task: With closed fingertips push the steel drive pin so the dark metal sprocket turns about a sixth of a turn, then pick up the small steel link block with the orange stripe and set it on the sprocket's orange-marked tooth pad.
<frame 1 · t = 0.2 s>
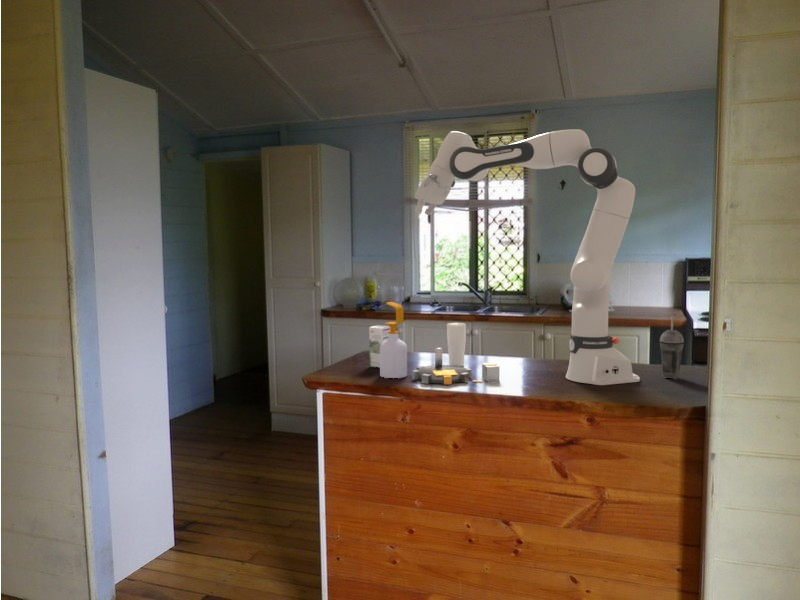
hand: (422, 213, 212), 54 cm above the countertop, tool tilted 30°, fingers open, 8 cm apart
drinking glass: (456, 366, 220), on the countertop
beverage cup: (670, 378, 197), on the countertop
marked link: (490, 380, 197), on the countertop
sprocket: (442, 364, 199), point 5 cm above the countertop, hinge at 0.0°
soap bottle: (393, 376, 204), on the countertop
timing mark: (477, 381, 195), on the countertop
syrup box: (380, 367, 220), on the countertop
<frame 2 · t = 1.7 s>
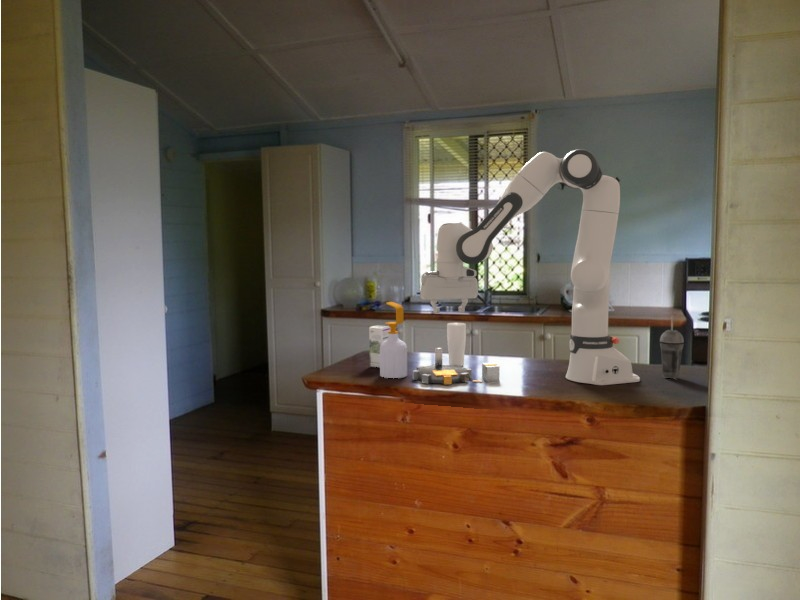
hand: (449, 312, 205), 21 cm above the countertop, tool pointing down, fingers open, 8 cm apart
nothing on the countertop moved.
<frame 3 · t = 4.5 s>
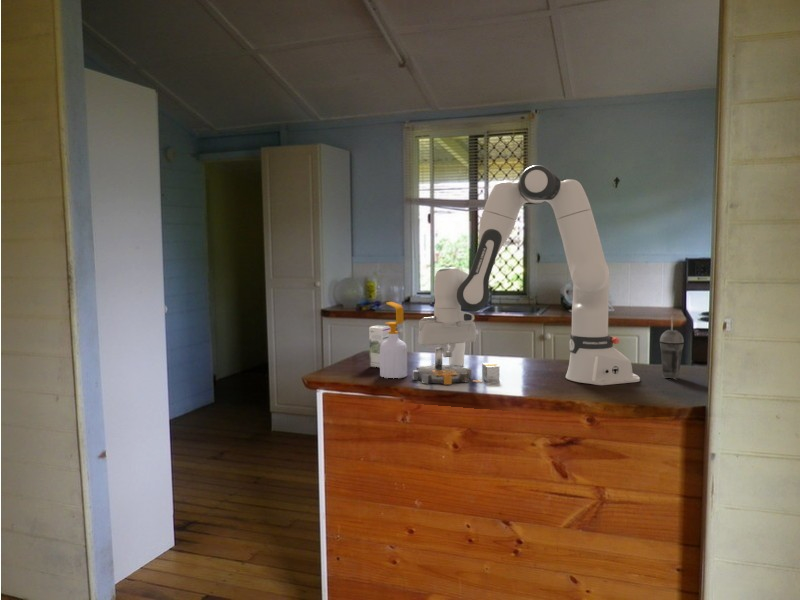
hand: (447, 356, 206), 6 cm above the countertop, tool pointing down, fingers closed
sprocket: (442, 364, 199), point 5 cm above the countertop, hinge at 0.0°, touching gripper
everything else where it was.
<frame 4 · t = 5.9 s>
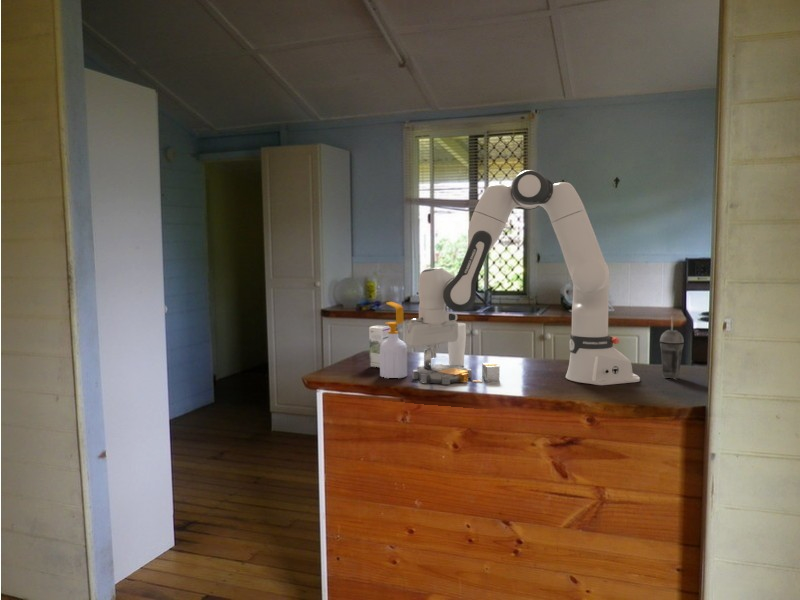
hand: (432, 357, 205), 6 cm above the countertop, tool pointing down, fingers closed
sprocket: (442, 364, 199), point 5 cm above the countertop, hinge at 41.5°, touching gripper
everything else where it was.
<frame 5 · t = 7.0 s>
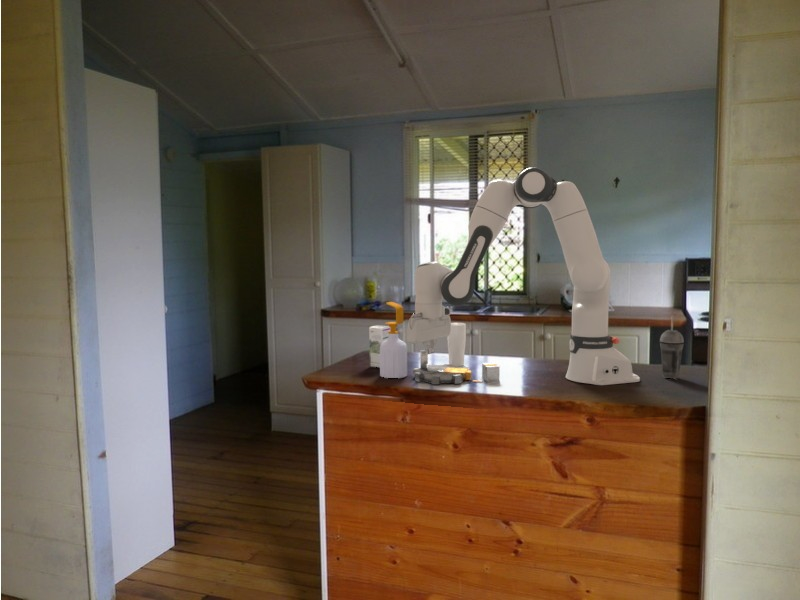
hand: (429, 353, 202), 8 cm above the countertop, tool pointing down, fingers closed
sprocket: (442, 364, 199), point 5 cm above the countertop, hinge at 66.4°
everything else where it was.
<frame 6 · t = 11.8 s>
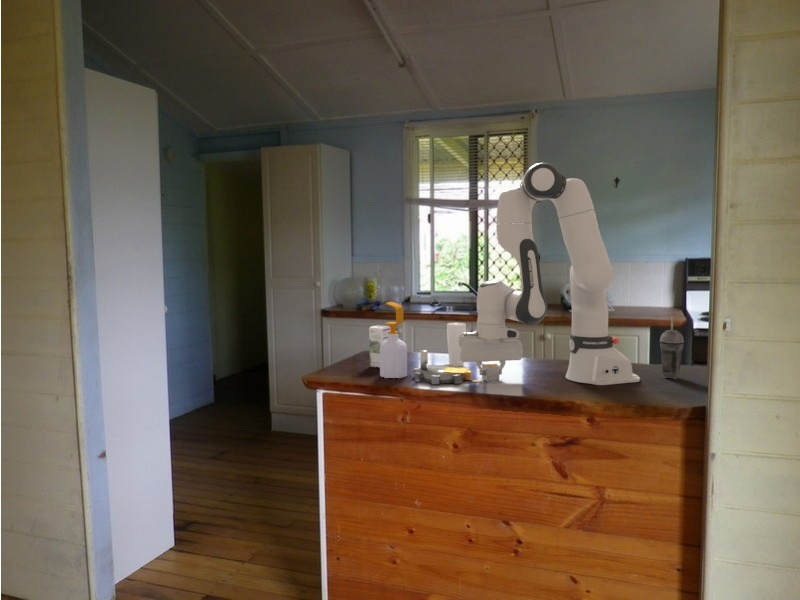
hand: (490, 374, 197), 2 cm above the countertop, tool pointing down, fingers closed on marked link, 4 cm apart
marked link: (490, 379, 197), on the countertop, touching gripper
everything else where it was.
when the fingers open (6 cm above the countertop, at t = 16.2 s): marked link drops 2 cm, resting on sprocket.
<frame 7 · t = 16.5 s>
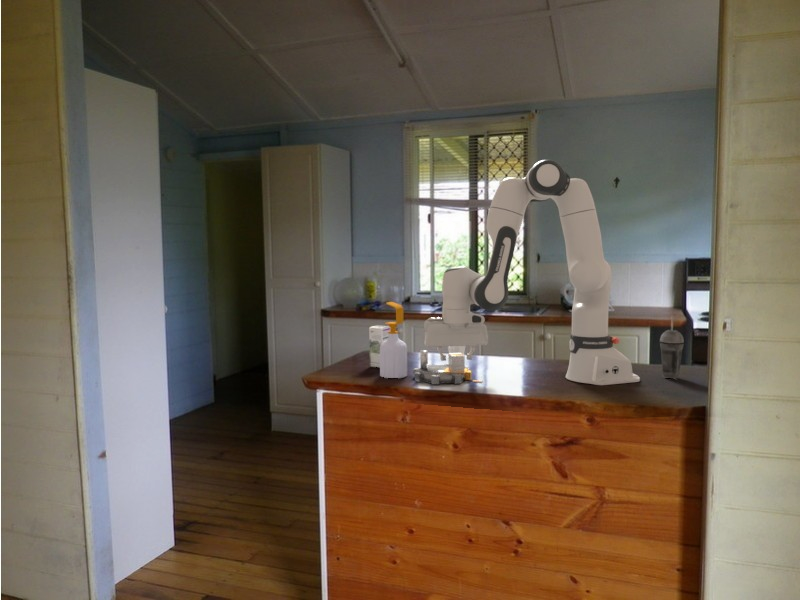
hand: (456, 359, 197), 6 cm above the countertop, tool pointing down, fingers open, 7 cm apart
marked link: (456, 369, 198), point 3 cm above the countertop, touching sprocket
sprocket: (442, 364, 199), point 5 cm above the countertop, hinge at 66.4°, touching marked link
everything else where it was.
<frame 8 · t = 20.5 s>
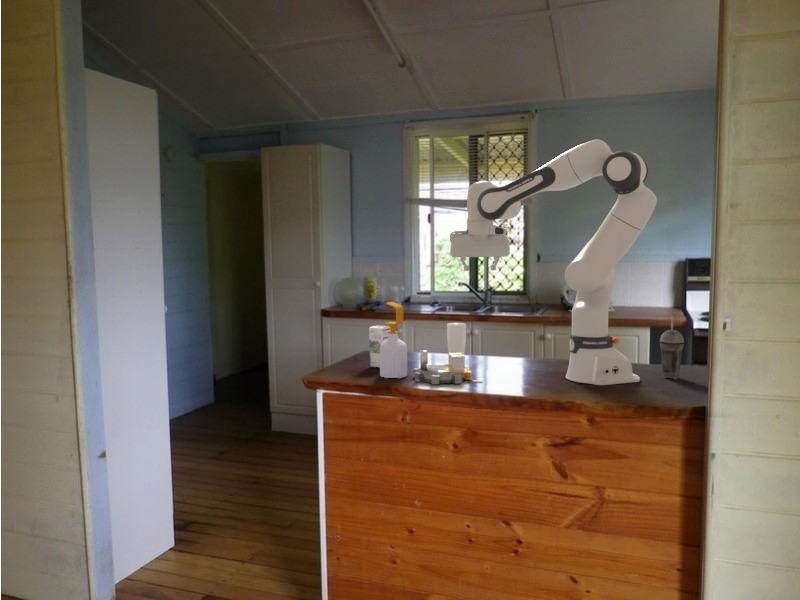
hand: (479, 270, 212), 34 cm above the countertop, tool pointing down, fingers open, 8 cm apart
nothing on the countertop moved.
at the end: sprocket at +66° (first picture: +0°); marked link inside the target area on the sprocket (4.6 cm from its centre), point 3.1 cm above the sprocket's base; marked link tilted 0° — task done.
